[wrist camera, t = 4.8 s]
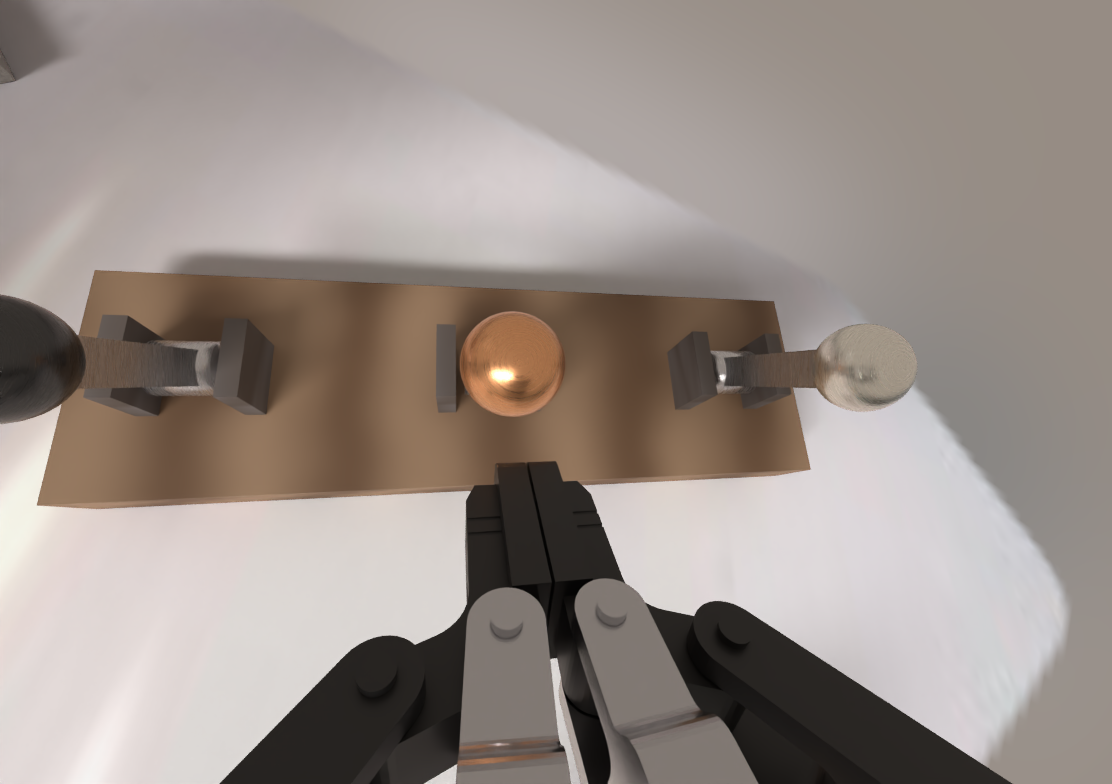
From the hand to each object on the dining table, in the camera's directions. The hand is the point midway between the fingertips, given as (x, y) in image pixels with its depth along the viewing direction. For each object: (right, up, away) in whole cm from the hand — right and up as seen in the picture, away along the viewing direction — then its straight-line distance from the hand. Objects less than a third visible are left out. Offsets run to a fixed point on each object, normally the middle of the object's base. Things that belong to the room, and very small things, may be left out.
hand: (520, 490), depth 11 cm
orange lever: (-2, +3, +10) cm, 11 cm away
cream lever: (+9, +3, +13) cm, 16 cm away
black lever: (-14, +3, +8) cm, 16 cm away
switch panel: (-3, +2, +14) cm, 14 cm away
